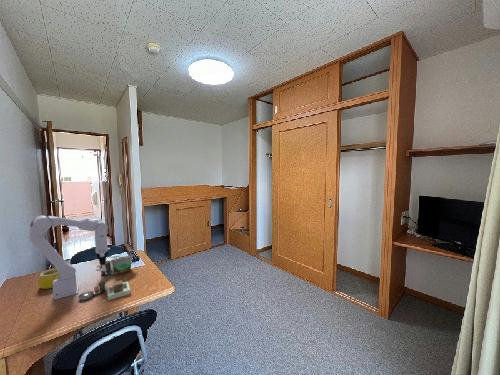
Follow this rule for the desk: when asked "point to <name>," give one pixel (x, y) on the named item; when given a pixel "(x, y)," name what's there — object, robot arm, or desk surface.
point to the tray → (119, 294)
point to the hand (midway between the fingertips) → (102, 264)
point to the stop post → (96, 288)
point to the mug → (48, 278)
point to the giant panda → (106, 267)
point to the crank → (90, 294)
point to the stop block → (118, 286)
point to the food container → (122, 265)
